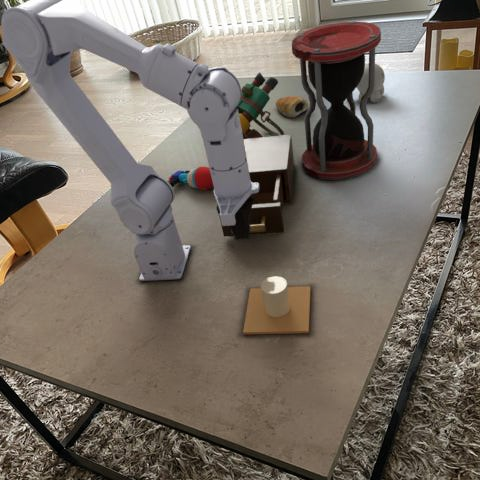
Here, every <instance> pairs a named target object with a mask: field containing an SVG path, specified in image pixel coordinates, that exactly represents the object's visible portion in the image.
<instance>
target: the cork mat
mask: <svg viewBox="0 0 480 480" xmlns="http://www.w3.org/2000/svg"><path fill="white" fill-rule="evenodd" d="M287 287H288V294H289V302H290V310H289V312H288V313H287V314H286V315H284V316H281V317H271V316H269V315H268V314H267V313H266V312H265V307H264V302H263V296H262V291H261V287H260V288H259V287H255V288H254V287H253V288H251V287H250V289H249V294H248V301H247V306H246V310H245V311H246V313H245V317H244V325H243V330H242V334H243V335H283V334H284V335H289V334H310V316H311V315H310V314H311V290H312V289H311V286H310V285H305V286H287Z"/></svg>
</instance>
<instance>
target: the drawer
mask: <svg viewBox="0 0 480 480" xmlns="http://www.w3.org/2000/svg"><path fill="white" fill-rule="evenodd" d="M250 180H251V182H252V183H259V187H260V188H259V192H258V193H254V194H255V195H254V200H253V205H252V209H251V212H250V233H249V236H256V235H269V234H283V233H285V226H284V217H283V207H284V204H283V200H284V185H283V176H282V173H278V174H267V175H255V176H250ZM218 218H219V221H220V227H221V229H222V235H223V237H235V236H234V234H233V232H232V230H231V228H230V226H222V224H221V219H220V215H219V214H218Z"/></svg>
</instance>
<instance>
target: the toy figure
mask: <svg viewBox="0 0 480 480" xmlns="http://www.w3.org/2000/svg"><path fill="white" fill-rule="evenodd" d="M167 181H168V182H169V183H170V185H171V186H172V188H173V187H175V186H176V185H179V184H188V185H189V186H190V187H191V188H194V189H197V190H200V191H206V190H210V189H214V186H213V181H212V177H211V173H210V169H209V166H198V167H193V168H192V169H191V170H185V171H184V170H177V171H176V172H174V173H172V174H171V176H169V178H168V180H167Z"/></svg>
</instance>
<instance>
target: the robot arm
mask: <svg viewBox="0 0 480 480" xmlns="http://www.w3.org/2000/svg"><path fill="white" fill-rule="evenodd" d="M0 23H1V25H0V27H1V39H2V40H1V41H2V42H1V43H2V45H3V47H5V48H4V49H6V50H7V52H8V53H9V54H10V55H11V56H12V57H13V59H14V60H15V61H16V63H18V65H19V66H20V68H21V69H22V70H23V72H24V74H25V78H27V81H28V82H29V84H30V86H31V87H32V88H33V90H34V91H35V93H37V95H38V96H39V97H40V98H41V100H42V101H43V102H44V103H45V104H46V106H47V107H48V108H49V109H50V111H51V112H52V113H53V114H54V115H55V117H56V118H57V119H58V120H59V121H60V123H61V124H62V126H63V127H64V128H65V129H66V131H68V133H69V134H70V135H71V137H72V138H73V139H74V140H75V141H76V142H77V144H78V145H79V146H80V147H81V149H82V150H83V151H84V153H85V154H86V155H87V157H89V159H90V160H91V161H92V162H93V163H94V165H95V166H96V167H97V168H98V169H99V171H100V172H101V173H102V175H103V176H104V177H105V178H106V179H107V181H108V182H109V183H110V205H112V207H113V208H114V210H115V211H116V212H117V214H118V218H119V220H120V222H121V224H122V225H123V226H124V227H125V228H126V229H127V230H129V231H130V232H131V233H133V234H135V245H134V249H133V256H134V258H135V260H136V263H137V265H138V268H139V270H140V275H139V277H138V280H139V281H141V282H146V281H147V282H150V281H168V280H180V279H182V277H183V274H184V271H185V267H186V265H187V261H188V258H189V255H190V252H191V249H192V246H191V245H189V244H184V245H183V244H182V240H181V237H180V234H179V231H178V230H179V229H178V227H177V224H176V222H175V217H174V214H173V207H172V203H173V201H174V200H175V190H174V188H173V187H172V186H171V185H170V183H169V182H168V180H167V179H166V178H165V177H163V176H161V175H160V174H158V172H157V171H156V170H155V169H154V167H153V166H152V165H149V164H143V163H139V162H137V160H136V159H135V158H134V157H133V155H132V154H131V152H130V151H129V150H128V149H127V148H126V146H125V145H124V143H123V141H121V139H120V138H119V137H118V136H117V134H116V133H115V132H114V131H113V128H112V127H111V126H110V125H109V124H108V122H107V121H106V120H105V119H104V117H103V116H102V114H101V113H100V112H99V110H98V109H97V108H96V107H95V105H94V104H93V103H92V101H91V100H90V99H89V98H88V96H87V95H86V94H85V92H84V90H83V89H82V88H81V87H80V86H79V84H78V83H77V81H76V80H75V79H74V78H73V76H72V75H71V62H72V61H71V58H72V53H73V52H74V51H78V50H84V51H87V52H88V53H92V54H94V55H96V56H98V57H100V58H102V59H105V60H106V61H109V62H112V63H114V64H116V65H118V66H120V67H122V68H125V69H127V70H128V71H132V72H133V73H136V74H137V75H138V77H139V80H140V82H141V85H142V86H143V87H144V88H145V89H147V90H149V91H150V92H152V93H154V94H156V95H158V96H160V97H162V98H164V99H166V100H168V101H170V102H172V103H174V104H176V105H177V106H179V107H181V108H183V109H185V110H186V112H187V114H188V117H189V118H190V120H191V121H192V122H193V123H194V124H195V125H196V126H197V128H198V129H199V131H200V135H201V138H202V142H203V147H204V151H205V155H206V160H207V165H208V168H209V169H210V173H211V177H212V181H213V186H214V187H213V195H214V198H215V201H216V204H217V205H216V212H217V214H218V216H219V215H220V218H219V220H220V219H221V222H220V225H221V224H222V226H230V228H231V230H232V232H233V234H234V236H233V237H234V238H235V239H236V240H247V239H249V238H250V235H249V233H250V212H251V209H252V205H253V200H254V195H255V194H254V193H258V192H259V188H260V187H259V183H252V182H251V180H250V175H249V169H248V163H247V157H246V151H245V145H244V140H243V134H242V128H241V124H240V118H239V112H238V109H235V108H236V106H237V105H238V103H239V101H240V98H241V90H242V86H241V83H240V81H239V79H238V78H237V77H236V76H235V75H234V74H233V73H232V72H231V71H230V70H228V68H226V67H224V66H214V67H211V68H210V67H209V66H208V65H207V64H204V63H201V64H199V63H197V62H195V61H194V60H191V59H190V58H188V57H186V56H184V55H182V54H180V53H178V52H176V51H177V47H176V46H174V45H172V44H171V43H166V44H165V45H164V44H162V43H156V44H154V45H152V46H148V47H147V46H146V45H145V44H142V43H141V42H139V41H138V40H136V39H134V38H133V37H131V36H129V35H128V34H126V33H125V32H123V31H121V30H120V29H118V28H117V27H115V26H114V25H112V24H110V23H108V22H107V21H105V20H104V19H102V18H100V17H99V16H97V15H95V14H94V13H92V12H90V11H89V10H88V9H86V7H85V6H84V5H83V3H82V1H81V0H27V1H24V2H23V3H21V4H19V5H16V6H11V7H9V8H7V9H6V10H5V11H4V12H3V14H2V16H1V21H0ZM234 109H235V110H234ZM222 226H221V227H222Z"/></svg>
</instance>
